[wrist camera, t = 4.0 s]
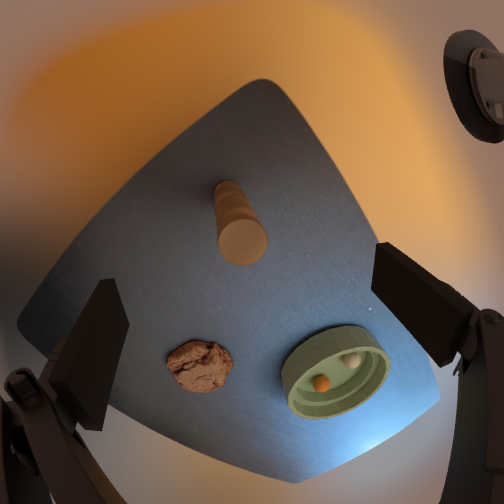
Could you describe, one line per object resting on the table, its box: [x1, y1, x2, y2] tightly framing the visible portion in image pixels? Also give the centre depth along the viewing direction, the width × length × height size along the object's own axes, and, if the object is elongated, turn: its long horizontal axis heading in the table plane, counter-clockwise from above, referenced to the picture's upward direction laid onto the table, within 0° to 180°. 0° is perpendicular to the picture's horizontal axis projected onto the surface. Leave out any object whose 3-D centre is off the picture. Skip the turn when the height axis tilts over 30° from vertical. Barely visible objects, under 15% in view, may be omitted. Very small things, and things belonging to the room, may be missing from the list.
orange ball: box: [313, 376, 330, 393], centre depth 44 cm, size 3×3×3 cm
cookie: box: [167, 341, 233, 393], centre depth 40 cm, size 10×11×3 cm
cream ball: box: [343, 352, 361, 369], centre depth 43 cm, size 3×3×3 cm
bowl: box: [281, 326, 390, 420], centre depth 43 cm, size 18×18×6 cm
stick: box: [214, 180, 268, 266], centre depth 25 cm, size 3×3×15 cm
